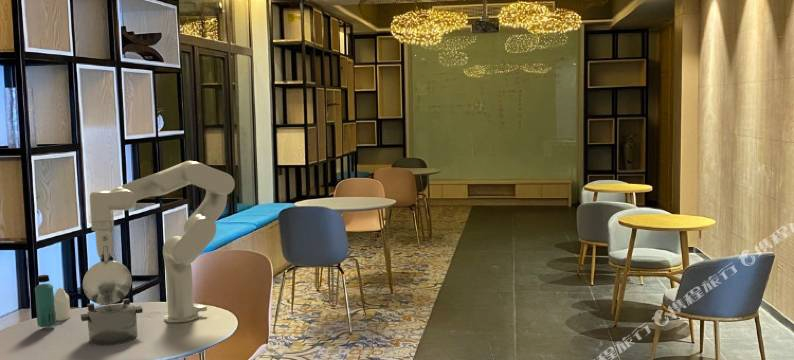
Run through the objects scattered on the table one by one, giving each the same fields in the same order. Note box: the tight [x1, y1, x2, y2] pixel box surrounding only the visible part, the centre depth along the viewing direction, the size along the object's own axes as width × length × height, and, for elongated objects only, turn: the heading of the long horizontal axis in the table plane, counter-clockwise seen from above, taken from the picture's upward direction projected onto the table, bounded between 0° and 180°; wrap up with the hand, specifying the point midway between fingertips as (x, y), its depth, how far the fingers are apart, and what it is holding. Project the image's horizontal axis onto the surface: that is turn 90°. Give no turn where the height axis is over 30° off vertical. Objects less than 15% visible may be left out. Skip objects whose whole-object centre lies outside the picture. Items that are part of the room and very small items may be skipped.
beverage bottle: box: [34, 274, 57, 328], centre depth 286 cm, size 6×7×20 cm
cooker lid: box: [82, 259, 133, 306], centre depth 278 cm, size 16×16×4 cm
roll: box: [54, 287, 71, 322], centre depth 300 cm, size 6×12×6 cm
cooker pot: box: [80, 298, 144, 346], centre depth 273 cm, size 20×17×11 cm
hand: (105, 275), depth 279 cm, fingers closed
